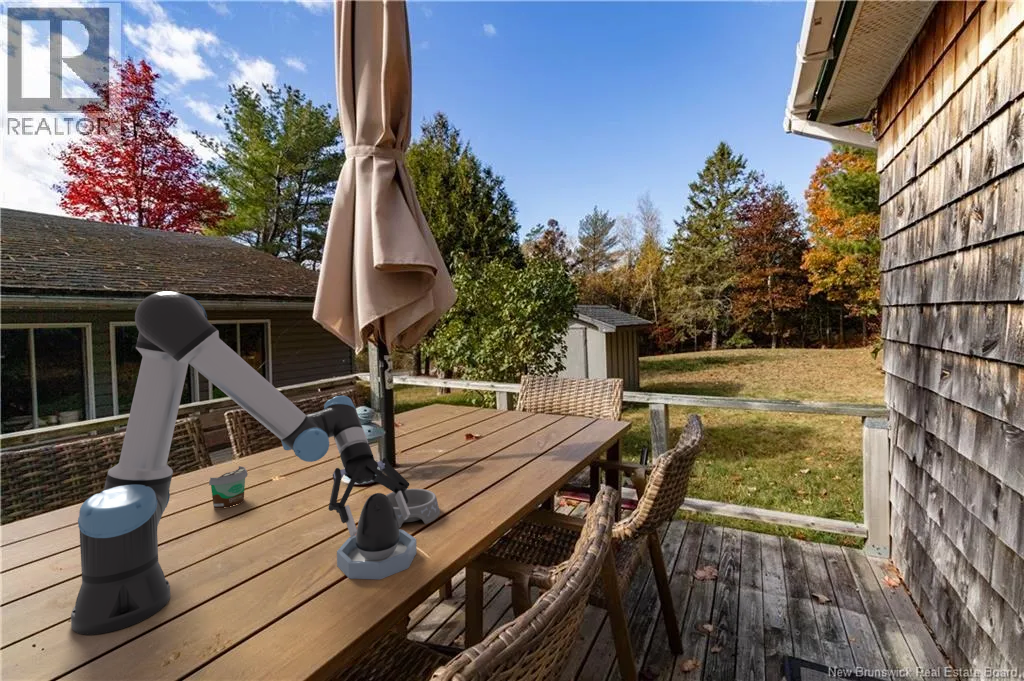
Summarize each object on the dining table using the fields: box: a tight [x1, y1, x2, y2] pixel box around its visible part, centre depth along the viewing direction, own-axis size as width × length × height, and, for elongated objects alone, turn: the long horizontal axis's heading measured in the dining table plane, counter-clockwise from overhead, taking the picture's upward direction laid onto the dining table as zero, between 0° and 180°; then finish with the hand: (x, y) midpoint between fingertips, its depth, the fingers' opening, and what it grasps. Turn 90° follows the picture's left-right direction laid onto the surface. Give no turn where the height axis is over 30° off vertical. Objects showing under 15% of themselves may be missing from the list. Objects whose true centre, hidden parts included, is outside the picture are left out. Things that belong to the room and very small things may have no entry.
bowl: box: [336, 528, 417, 580], centre depth 112 cm, size 17×17×4 cm
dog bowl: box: [385, 488, 441, 529], centre depth 138 cm, size 17×18×5 cm
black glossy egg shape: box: [355, 492, 400, 561], centre depth 112 cm, size 10×10×15 cm
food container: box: [208, 465, 249, 509], centre depth 146 cm, size 12×6×10 cm, turn 168°
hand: (381, 525), depth 110 cm, fingers open, 13 cm apart
